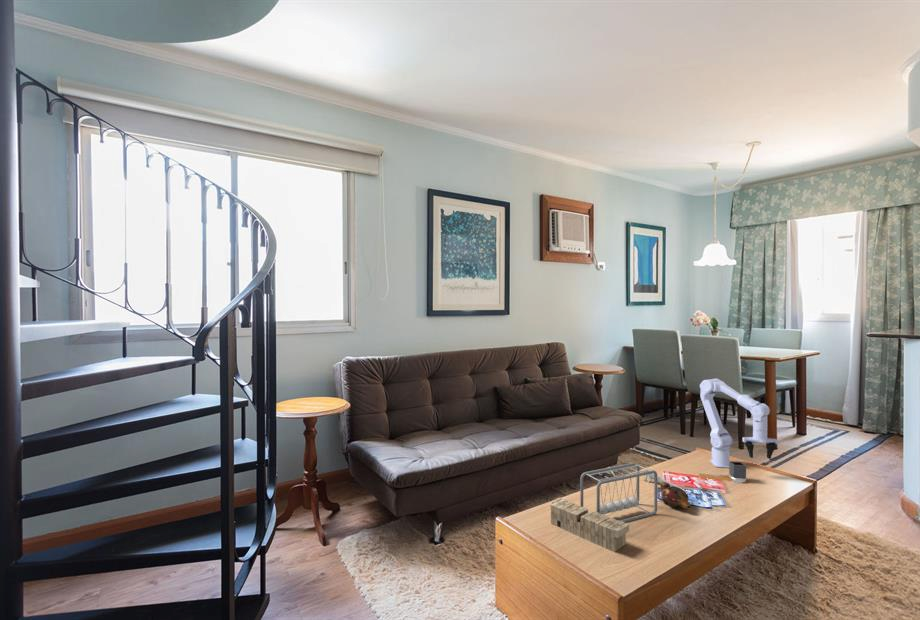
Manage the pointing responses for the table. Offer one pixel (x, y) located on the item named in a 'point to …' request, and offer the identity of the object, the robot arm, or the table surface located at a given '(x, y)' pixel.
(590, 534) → the block tower
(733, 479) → the ratchet
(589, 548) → the table surface
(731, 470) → the hollow square tube
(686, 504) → the decorative turtle
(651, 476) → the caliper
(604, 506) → the newton's cradle
